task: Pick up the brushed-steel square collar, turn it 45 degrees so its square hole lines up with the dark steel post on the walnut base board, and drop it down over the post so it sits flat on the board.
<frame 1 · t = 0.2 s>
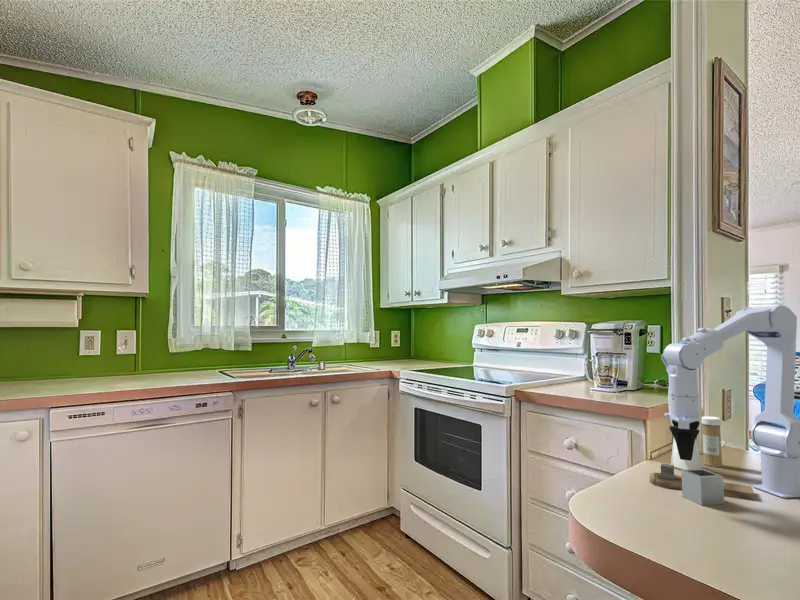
hand: (686, 455, 106), 10 cm above the counter, fingers open, 7 cm apart
walnut base: (701, 488, 112), on the counter
sprinkles bottle: (712, 465, 132), on the counter
steel collar: (702, 500, 104), on the counter
skyscraper: (686, 469, 128), on the counter
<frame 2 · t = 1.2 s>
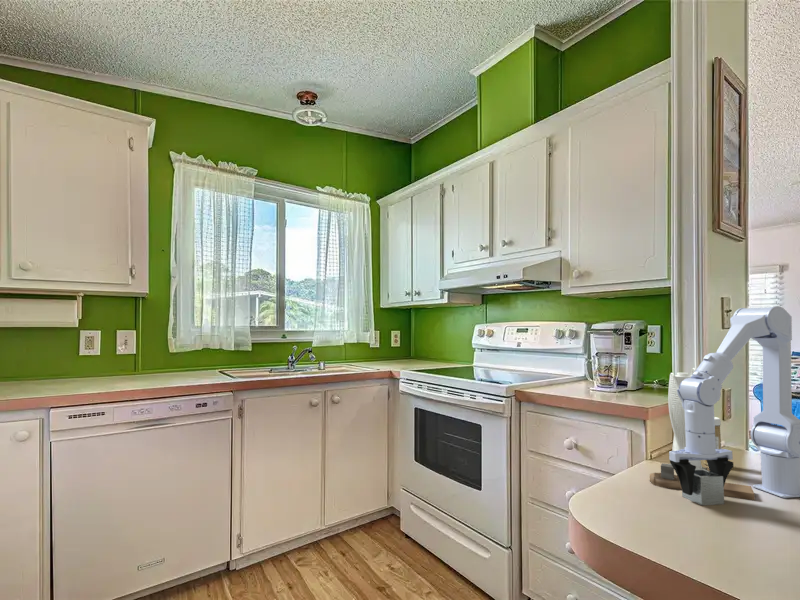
hand: (702, 492, 104), 2 cm above the counter, fingers open, 7 cm apart
nothing on the counter moved.
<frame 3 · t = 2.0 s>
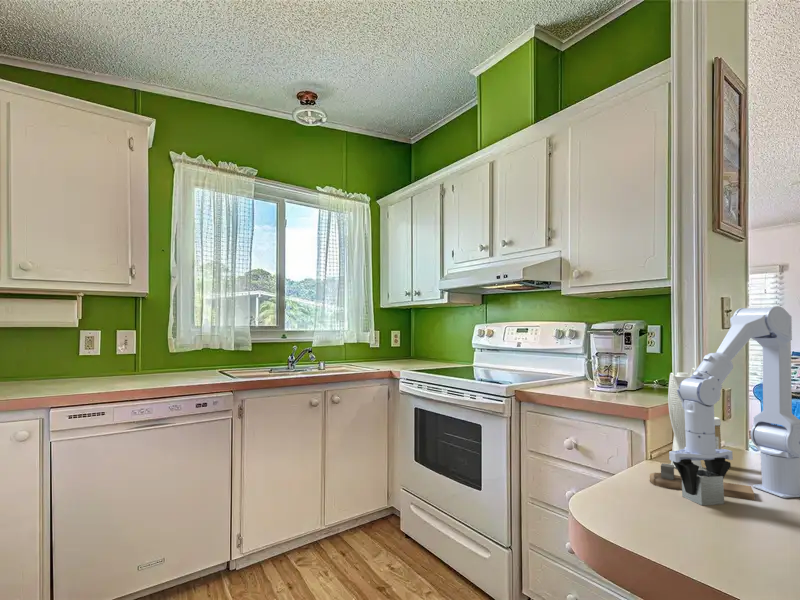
hand: (702, 492, 104), 2 cm above the counter, fingers closed on steel collar, 6 cm apart
steel collar: (702, 500, 104), on the counter, touching gripper
everything else where it was.
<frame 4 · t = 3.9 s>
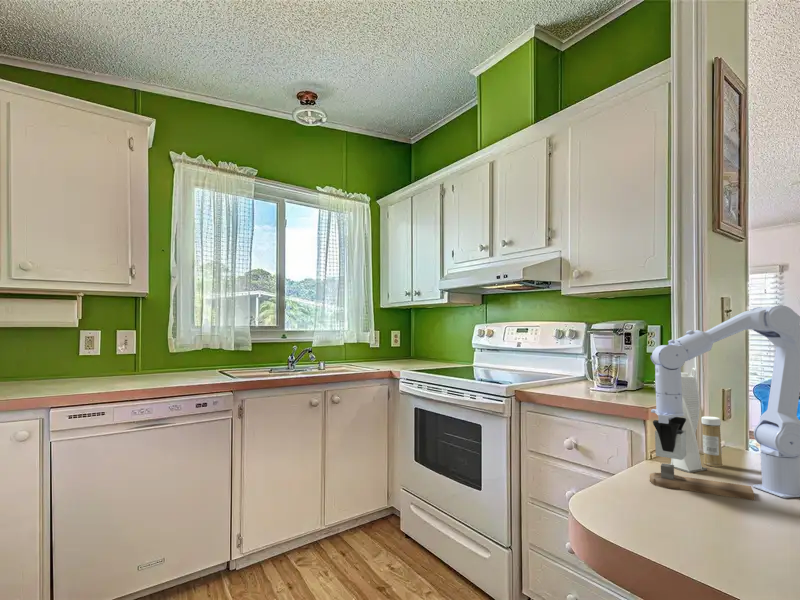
hand: (670, 448, 115), 9 cm above the counter, fingers closed on steel collar, 6 cm apart
steel collar: (671, 455, 114), point 7 cm above the counter, touching gripper
everything else where it was.
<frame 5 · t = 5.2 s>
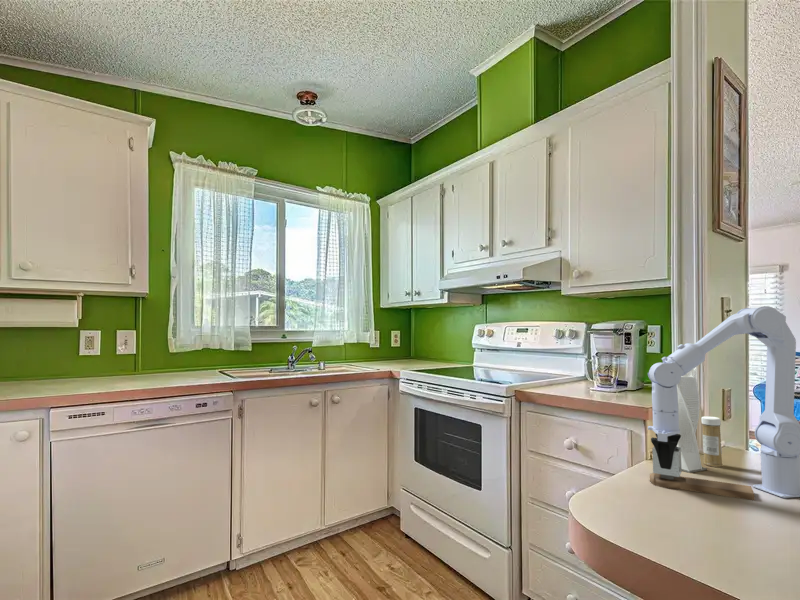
hand: (667, 465, 116), 4 cm above the counter, fingers closed on steel collar, 6 cm apart
steel collar: (667, 472, 116), point 3 cm above the counter, touching gripper
everything else where it was.
when the fingers open (4 cm above the counter, at t = 5.9 s): steel collar drops 1 cm, resting on walnut base.
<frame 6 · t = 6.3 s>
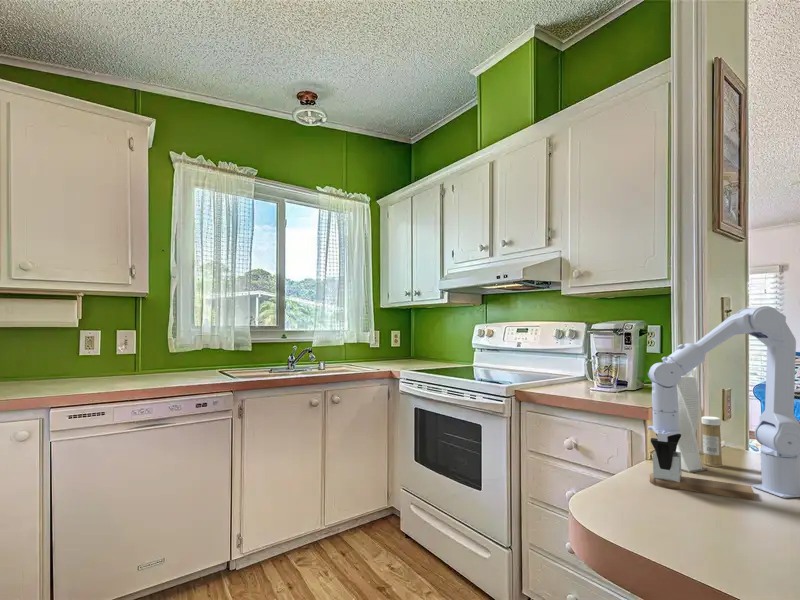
hand: (667, 465, 116), 4 cm above the counter, fingers open, 7 cm apart
walnut base: (701, 488, 112), on the counter, touching steel collar
steel collar: (667, 477, 116), point 1 cm above the counter, touching walnut base
everything else where it was.
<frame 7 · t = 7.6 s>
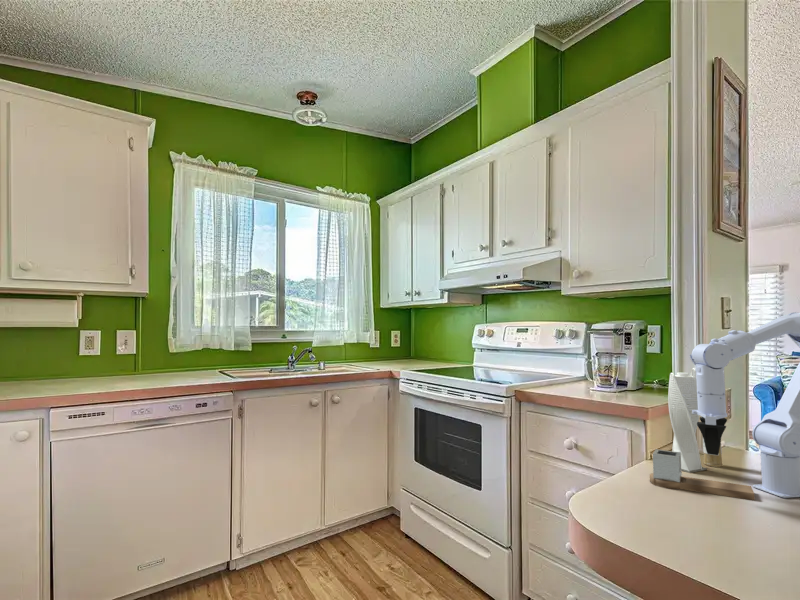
hand: (713, 450, 111), 9 cm above the counter, fingers open, 7 cm apart
nothing on the counter moved.
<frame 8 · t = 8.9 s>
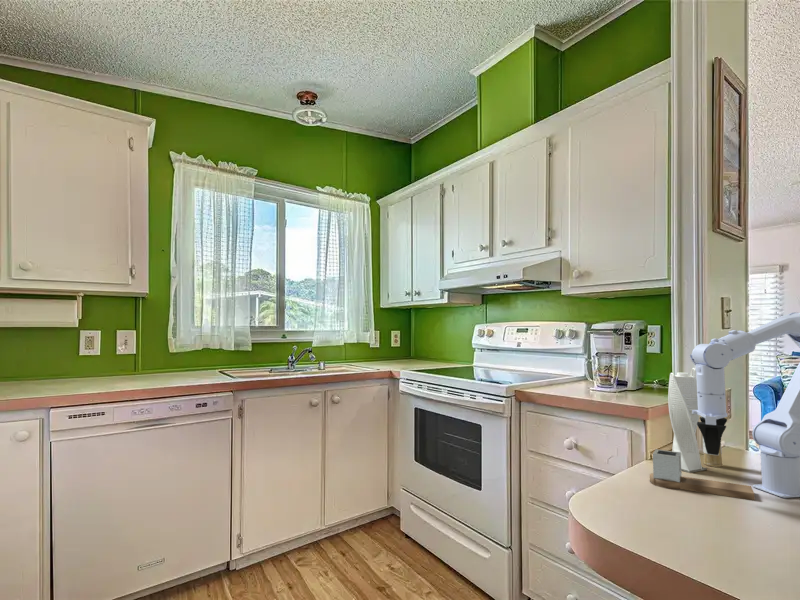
hand: (713, 450, 111), 9 cm above the counter, fingers open, 7 cm apart
nothing on the counter moved.
at the end: steel collar 0.1 cm from the target spot on the walnut base, point 1.5 cm above the walnut base's base; steel collar tilted 0°; the gripper is holding nothing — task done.
